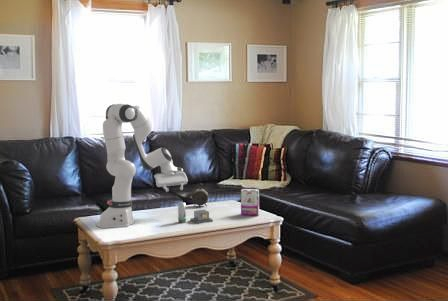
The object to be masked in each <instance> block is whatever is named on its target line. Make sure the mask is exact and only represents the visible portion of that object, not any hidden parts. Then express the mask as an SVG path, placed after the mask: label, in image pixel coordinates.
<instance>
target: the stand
mask: <svg viewBox="0 0 448 301" xmlns="http://www.w3.org/2000/svg"><path fill="white" fill-rule="evenodd" d="M190 221H191V222H192V223H194V224H203V223H204V224H206V223H210V222H214V219H213V218H210V211H209V210H206V209H198V210H197V209H196V210H194V211H193V217H192V218H191V217H190Z"/></svg>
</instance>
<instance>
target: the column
mask: <svg viewBox="0 0 448 301" xmlns="http://www.w3.org/2000/svg"><path fill="white" fill-rule="evenodd" d="M186 212H187V211H186V202H184V201H180V202H178V203H177V215H178V216H177V219H178V224H185V222H186V219H187V217H186V216H187V214H186Z"/></svg>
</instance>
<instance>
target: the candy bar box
mask: <svg viewBox="0 0 448 301" xmlns="http://www.w3.org/2000/svg"><path fill="white" fill-rule="evenodd" d="M240 215H241V216H249V217H251V216H253V217H254V216H255V217H257V216H259V215H260V190H259V188H258V189H256V188H255V189H254V188H242V189H241V190H240Z"/></svg>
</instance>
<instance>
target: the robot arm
mask: <svg viewBox="0 0 448 301" xmlns="http://www.w3.org/2000/svg"><path fill="white" fill-rule="evenodd" d="M151 122H152V121H151V120H150V118H149V117H148V115H147V113H146V112H145V111H144V110H143V109H142V108H141V107H140V106H139V105H130V104H128V103H127V104H125V103H124V104H123V103H115V104H111V105H109V106H108V107H107V108H106V110H105V120H104V121H103V122H102V134H103V139H104V142H105V148H106V153H107V156H106V157H107V158H106V159H107V162H106V165H105V166H106V170H107V172H108V173H109V174H110V175H111V176H114V177H115V178H114V183H113V186H112V187H111V188H112V189H111V192H112V193H111V194H112V199H111V200H107V202H106V203H107V204H108V206H109V207H107V209H106V210H104V211H102V213H100V217H99V220H98V221H96V224H95V225H96V226H97V227H98V228H100V229H109V228H124V227H125V228H127V227H129V226H130V225H134V223H135V219H134V216H133V199H132V183H133V179H134V176H135V175H136V173H137V168H136V165H135V164H134V163H133V162H131V160H127V159H126V157H125V151H126V148H127V147H126V142H125V138H124V134H123V130H122V127H123V126H122V125H123V124H124V123H130V125H131V127H132V128H133V134H132V138H133V139H132V140H133V142H134V143H133V144H134V145H135V148H136V152H137V154H138V157H139V159H140V163H141V166H142V168H143V169H144V170H147V171H151V170H153V169H155V168H156V167H160V171H161V172H160V173H159V172H158V173H155V174H154V175H153V178H154V179H155V183H156V184H155V185H156V187H158V188H162V189H164V190H165V192H166V193H167V192H170V188H169V187H171V186H173V187H174V186H179V190H180V191H183V190H184V185H187V184H188V181H189V180H188V177H187V174H186V172H184V169H183V168H182V167H177V166H175V165H174V161H173V159H172V155H171V152H170V150H168V148H165V147H160V148H157V149H155V150H153V151H151V152H149V153H146V152H145V149H144V146H143V141H144V140H146V138H147V137H148V136H149V134H150V133H151V132H152V130H153V129H152V128H153V125H152V123H151Z"/></svg>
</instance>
